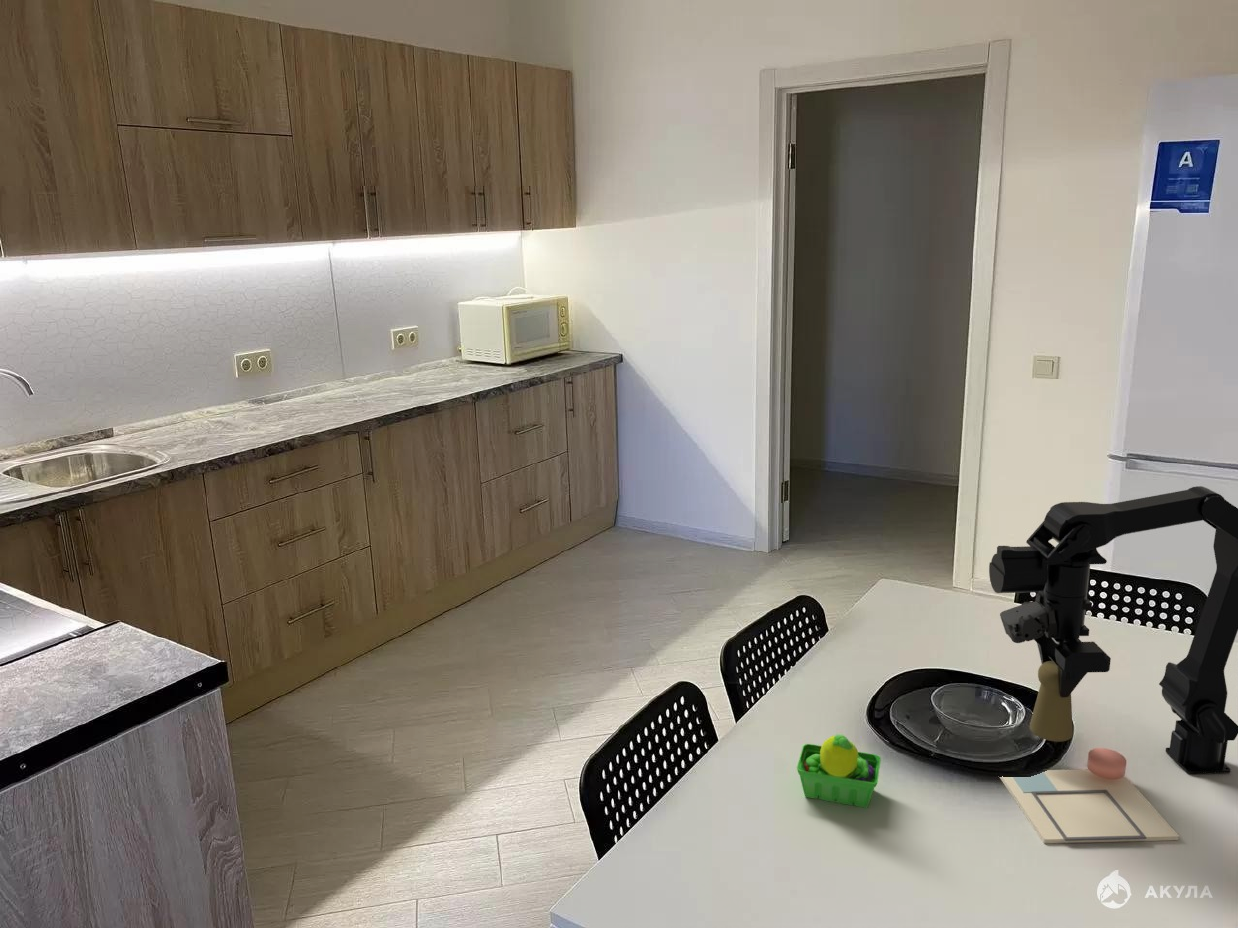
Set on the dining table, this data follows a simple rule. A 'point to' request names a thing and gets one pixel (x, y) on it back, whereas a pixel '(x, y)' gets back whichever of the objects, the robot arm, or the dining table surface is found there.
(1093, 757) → the button
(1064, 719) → the cork
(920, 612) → the dining table surface
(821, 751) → the fruit basket
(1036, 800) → the colouring board
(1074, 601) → the robot arm
